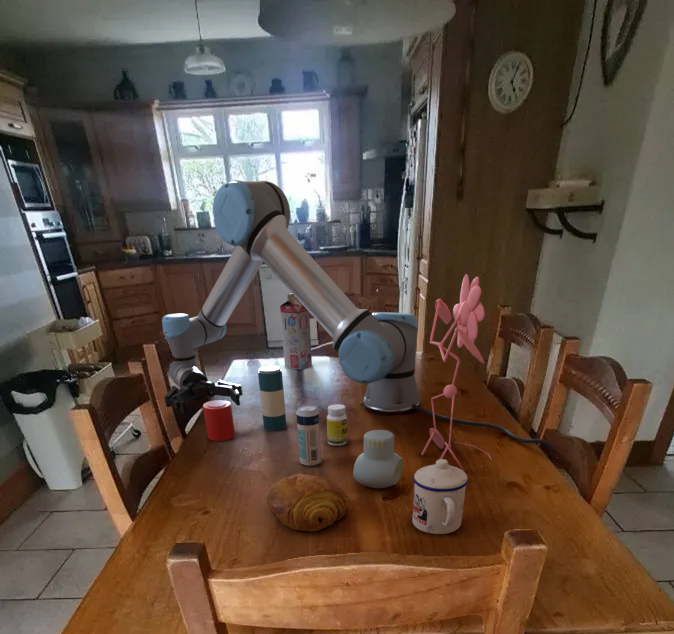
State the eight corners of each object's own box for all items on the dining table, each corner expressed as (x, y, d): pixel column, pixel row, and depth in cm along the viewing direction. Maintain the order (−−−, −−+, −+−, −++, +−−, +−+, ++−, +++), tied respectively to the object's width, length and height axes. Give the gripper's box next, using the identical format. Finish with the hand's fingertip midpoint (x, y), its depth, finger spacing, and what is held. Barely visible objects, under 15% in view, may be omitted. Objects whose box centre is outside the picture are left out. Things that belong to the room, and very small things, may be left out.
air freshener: (390, 496, 106) (392, 447, 100) (350, 491, 109) (349, 442, 102) (404, 474, 114) (407, 427, 108) (367, 469, 117) (367, 423, 111)
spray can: (291, 424, 140) (286, 366, 132) (277, 432, 136) (271, 372, 128) (272, 421, 143) (267, 364, 134) (259, 428, 139) (252, 369, 130)
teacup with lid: (405, 513, 101) (408, 452, 94) (453, 509, 101) (460, 448, 94) (422, 547, 91) (427, 482, 84) (475, 541, 92) (484, 477, 85)
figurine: (442, 489, 108) (461, 287, 87) (407, 442, 128) (416, 269, 107) (515, 481, 110) (551, 282, 89) (470, 436, 130) (490, 265, 109)
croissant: (286, 551, 95) (283, 513, 90) (258, 503, 105) (254, 466, 100) (361, 530, 99) (362, 493, 94) (327, 486, 109) (327, 450, 104)
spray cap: (240, 434, 136) (236, 401, 131) (223, 442, 132) (217, 409, 127) (220, 429, 139) (215, 398, 134) (202, 438, 134) (196, 405, 130)
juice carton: (311, 365, 188) (308, 292, 175) (300, 369, 183) (295, 295, 170) (296, 362, 191) (291, 291, 178) (284, 367, 186) (279, 294, 173)
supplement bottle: (345, 446, 127) (344, 410, 122) (325, 445, 128) (324, 409, 123) (349, 439, 131) (348, 403, 126) (330, 438, 132) (328, 403, 127)
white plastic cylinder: (324, 459, 122) (322, 405, 114) (316, 468, 118) (313, 412, 111) (304, 457, 123) (300, 403, 116) (296, 465, 119) (292, 410, 112)
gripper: (238, 390, 158) (261, 411, 142) (150, 403, 150) (164, 427, 135) (234, 362, 153) (257, 381, 138) (143, 375, 146) (157, 396, 130)
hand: (211, 404), depth 136 cm, fingers open, 13 cm apart
